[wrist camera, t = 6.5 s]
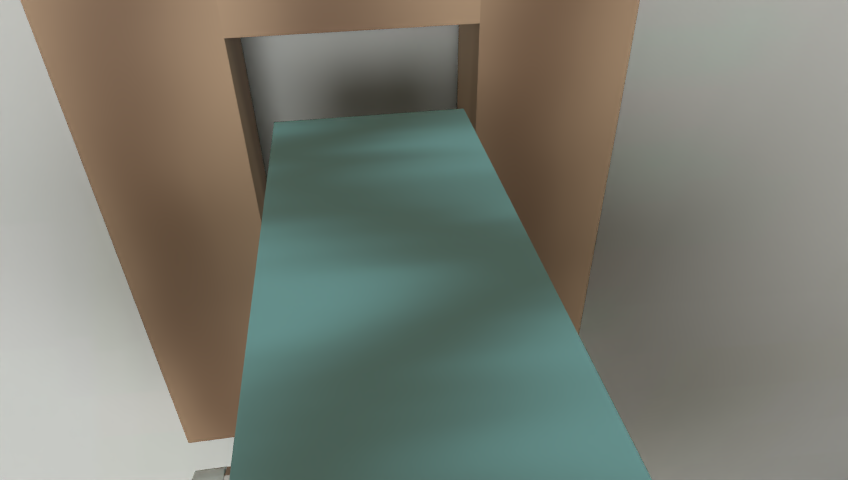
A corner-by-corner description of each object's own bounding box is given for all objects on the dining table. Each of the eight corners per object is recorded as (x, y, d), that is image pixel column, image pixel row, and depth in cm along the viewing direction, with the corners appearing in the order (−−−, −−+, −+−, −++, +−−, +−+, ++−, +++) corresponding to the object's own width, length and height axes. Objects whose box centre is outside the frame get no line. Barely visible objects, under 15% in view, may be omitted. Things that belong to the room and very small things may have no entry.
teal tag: (463, 108, 13) (898, 966, 3) (457, 367, 18) (631, 1046, 8) (273, 122, 13) (143, 1158, 3) (317, 384, 17) (323, 1123, 8)
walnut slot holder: (623, -183, 15) (672, -182, 13) (547, 345, 25) (568, 392, 23) (10, -171, 13) (-44, -168, 11) (199, 388, 24) (188, 443, 22)
